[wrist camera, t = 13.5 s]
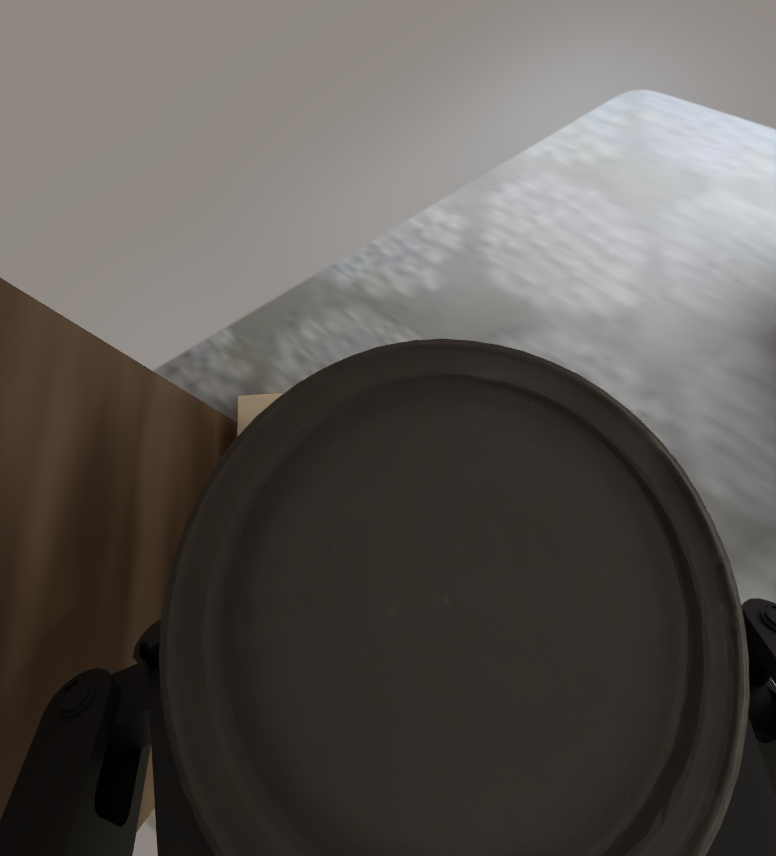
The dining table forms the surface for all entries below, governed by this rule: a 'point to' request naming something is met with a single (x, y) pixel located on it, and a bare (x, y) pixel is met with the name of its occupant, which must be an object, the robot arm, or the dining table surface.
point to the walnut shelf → (85, 509)
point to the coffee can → (452, 622)
